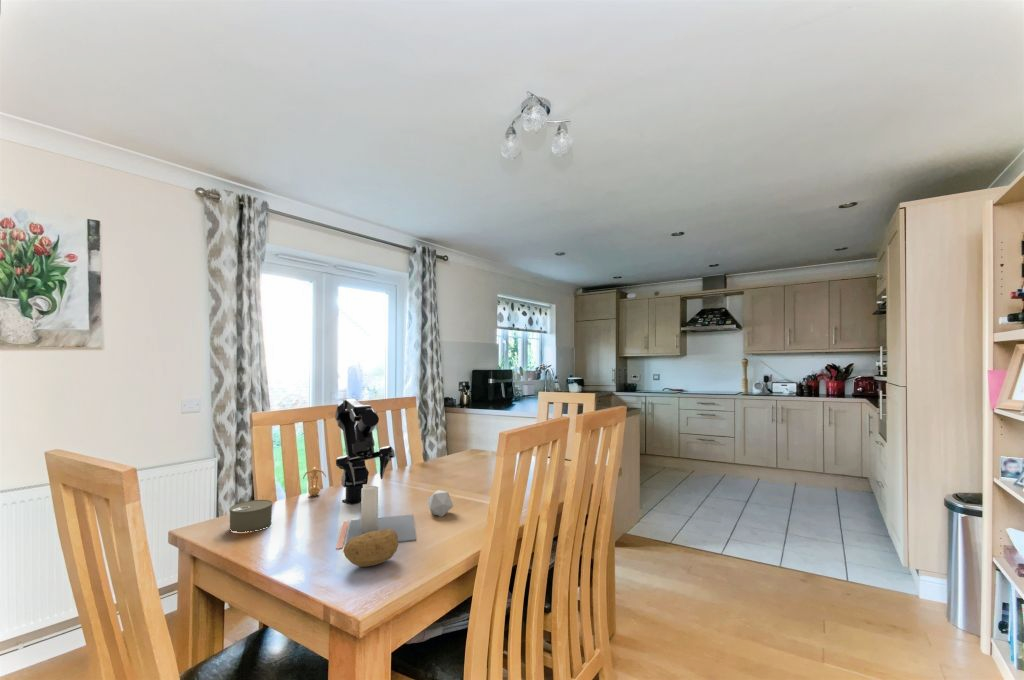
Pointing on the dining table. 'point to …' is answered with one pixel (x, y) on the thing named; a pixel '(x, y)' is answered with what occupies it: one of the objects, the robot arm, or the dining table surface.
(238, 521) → the can
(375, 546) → the potato
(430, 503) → the die
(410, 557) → the dining table surface
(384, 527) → the mat
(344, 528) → the strip
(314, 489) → the figurine
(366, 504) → the cream teardrop shape
